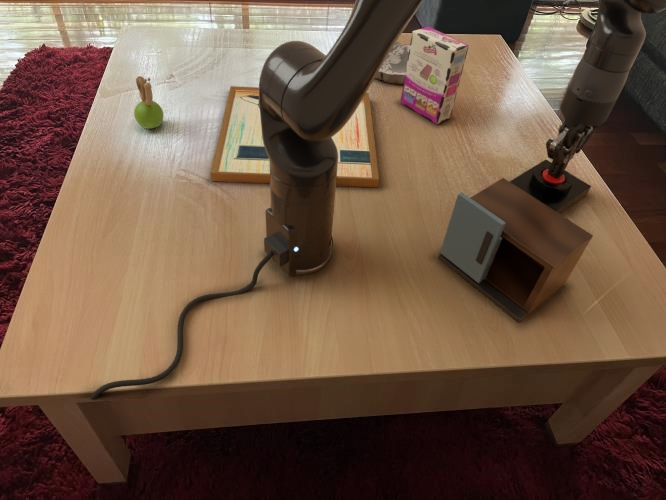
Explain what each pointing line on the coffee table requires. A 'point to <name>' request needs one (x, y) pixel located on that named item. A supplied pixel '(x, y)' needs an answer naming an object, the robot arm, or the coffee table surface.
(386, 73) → the grey flat irregular slab
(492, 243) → the gray sliding door
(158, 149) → the coffee table surface
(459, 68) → the candy bar box
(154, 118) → the snail figurine
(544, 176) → the button
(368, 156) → the picture frame
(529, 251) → the cabinet
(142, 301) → the coffee table surface
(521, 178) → the button box
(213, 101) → the coffee table surface
